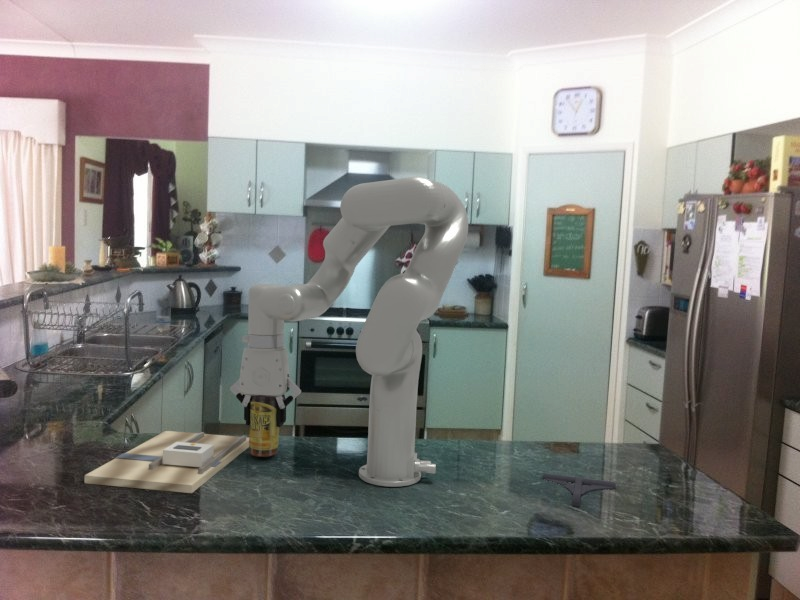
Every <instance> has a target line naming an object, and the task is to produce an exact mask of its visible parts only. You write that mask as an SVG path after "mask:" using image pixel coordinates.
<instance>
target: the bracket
mask: <svg viewBox="0 0 800 600" xmlns="http://www.w3.org/2000/svg"><path fill="white" fill-rule="evenodd" d="M544 479H545V480H544ZM542 480H544V481H546V480H547V481H546V482H549V481H552V482H551V483H553V482H555V483H557V484H556V485H558V484H560V485H562V486H564V487H563V488H565V487H566V488H567V489H566V488H565V489H566V490H568V491H569V492H570V493H571V494H572V504H571V505H572V507H576V508H580V505H581V496H583V495H585V494H586V493H589V492H593V491H594V490H595V491H603V490H604V491H608V489H609V490H610V491H611V490H616V486H617V485H616V482H614V481H607V480H606V481H605V480H600V479H591V478H582V477H576V476H575V477H574V476H569V475H567V476H566V475H560V474H551V473H542ZM567 482H571V483H567ZM555 483H554V484H555ZM573 483H575V484H573ZM560 485H559V486H560ZM587 485H589V486H587ZM562 486H561V487H562ZM605 489H606V490H605ZM595 491H594V492H595Z"/></svg>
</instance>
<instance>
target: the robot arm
mask: <svg viewBox="0 0 800 600" xmlns="http://www.w3.org/2000/svg"><path fill="white" fill-rule="evenodd" d="M339 207H340V208H339V209H340V214H341V216H342V217H341V218H340V219H339V221H338V222H337V223H336V225H335V226H334V227H333V228H332V229H331V230H330V231H329V233H328V234H327V235H325V237H324V239H323V243H322V246H323V249H324V251H325V254H324V255H325V256H324V260H323V261H322V263H321V265H320V267H318V268H319V269H317V271H316V272H315V273H314V274H313V276H312V277H311V279H309V280H308V281H307V282H306V283H304V284H303V283H302V284H293V285H291V284H290V285H284V286H281V285H279V284H268V283H265V284H264V283H263V284H262V283H259V284H258V283H257V284H254V285H251V286H250V287H249V290H248V307H247V308H248V309H247V310H248V311H247V312H248V316H247V317H248V318H247V319H248V323H247V324H248V325H247V326H248V327H247V328H248V330H247V333H246V335H242V336H241V342H242V343H246V346H247V347H244V348H243V351H242V356H241V364H240V371H239V378H238V379H237V381H235V382H234V383H233V384H232V385H231V386H230V387H229V390H230V392H231V393H232V394H233V395H234V396H236V399H237V400H238V401H239V402H240V403H241V406H242V407H243V420H244V421H245V425H246V426H250V406H251V400H252V397H253V396H258V395H262V396H270V397H276V400H277V402H278V405H279V408H278V409H277V424H276V426H277V427H279V428H281V427H282V426H283V425H284V424H285V423H286V422H287V421H286V420H287V406H288V405H289V404H291V403H292V402H293V401H294V400H295V399H296V398H297V397H298V396H299V395H300V394H301V393H302V389H300V387H299V386H298V385H297V384H296V383H295V382H294V381H293V380H292V378H291V370H290V361H289V360H290V359H289V356H288V349H287V348H286V347H285V344H284V343H285V341H284V340H285V339H284V337H285V322H300V321H305V320H311V319H317V318H318V317H320V316H322V315H323V314H324V313H325V312H327V310H329V308H330V307H331V306H332V305H333V304H334V303H335V302H336V301H337V300H338V298H339V297H340V296H341V294H343V292H344V291H345V289H346V288H347V286H348V284H349V283H350V280H351V279H352V276H353V275H354V272H355V271H356V270H355V269H356V268H357V266H358V265H359V263H360V262H361V261H362V260H363V259H364V257H365V256H366V255H367V254H368V253H369V251H370V250H371V249H372V248H373V247H374V246H375V244H376V243H377V242H378V241H379V240H380V239H381V238H382V236H383V235H384V234H385V233H386V232H387V230H388V229H389V228H390V227H391V226H399V225H410V224H418V225H419V224H420V225H424V226H425V230H424V234H423V235H422V237H421V239H420V240H419V242H418V244H417V246H415V249H414V251H413V255H412V257H411V259H410V262H409V263H408V265H407V267H406V269H405V270H404V272H403V273H399V274H396V275H393V276H392V277H390V278H389V279H387V280H386V281H385V283H384V284H383V285H382V286H381V287H380V289H379V291H378V292H377V295H376V297H375V299H374V301H373V303H372V305H371V306H370V307H371V308H370V311H369V312H368V314H367V317H366V319H365V322H364V324H363V325H362V328H361V331H360V332H359V335H358V338H357V340H356V346H355V355H356V360H357V362H358V364H359V366H360V367H361V369H362V371H364V372H366V373H367V374H369V375H371V379H370V380H371V381H370V390H369V404H368V405H369V409H368V410H369V411H368V431H367V433H368V435H367V456H366V458H367V459H366V464H364V465H362V466H360V468H359V469H358V476H359V478H360V479H361V480H362V481H364V482H366V483H368V484H370V485H373V486H378V487H387V488H388V487H389V488H390V487H391V488H393V487H395V488H398V487H399V488H400V487H407V486H411V485H414V484H417V483H418V482H419V481H420V480H421V478H422V473H426V474H436V472H437V464H436V463H432V461H431V460H420V458H418V453H417V452H415V447H416V426H417V425H416V424H417V423H416V422H417V406H418V405H417V404H418V388H419V378H420V371H421V364H422V358H423V342H422V337H421V335H420V333H419V332H418V330H417V329H418V326H419V324H420V323H421V322H422V321H425V320H427V319H429V318H431V317H432V316H433V315H434V314H435V313H436V312H437V309H438V307H439V305H440V302H441V300H442V297H443V296H444V293H445V291H446V289H447V287H448V284H449V282H450V280H451V278H452V275H453V273H454V271H455V268H456V266H457V263H458V261H459V259H460V256H461V255H462V252H463V250H464V247H465V244H466V242H467V237H468V234H469V217H468V213H467V210H466V208H465V206H464V204H463V202H462V200H461V199H460V198H459V196H458V195H457V193H455V191H454V190H452V189H451V188H450V187H448V186H447V185H446V184H443V183H442V182H439V181H436V180H434V179H431V178H428V177H425V176H408V177H402V178H394V179H387V180H379V181H373V182H364V183H359V184H356V185H353V186H352V187H350V188H349V189H348V190H347V191H346V192H345V193H344V194H343V197H342V198H341V202H340V206H339ZM290 390H291V393H290V394H288V396H286V393H288V392H289V391H290Z"/></svg>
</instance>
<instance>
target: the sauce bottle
mask: <svg viewBox="0 0 800 600" xmlns="http://www.w3.org/2000/svg"><path fill="white" fill-rule="evenodd" d="M278 408H279V405H278V402H277V400H276V397H270V396H262V395H258V396H253V397H252V400H251V406H250V425H249V432H248V433H249V434H248V436H249V437H248V438H249V447H248V449H249V454H250V455H251V456H254V457H262V458H269V457H272V456H274V455H276V454H277V452H278V448H279V440H280V439H279V436H280V435H279V434H280V427H277V426H276V424H277V409H278Z"/></svg>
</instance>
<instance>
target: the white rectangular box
mask: <svg viewBox="0 0 800 600" xmlns="http://www.w3.org/2000/svg"><path fill="white" fill-rule="evenodd" d="M213 457H214V445H211V444H199V443H187V442H175V443H174V444H172V445H170V446H169V447H167V448H165V449H164V450H163V464H169V465H180V466H191V467H201V466H203V465H204V464H205V463H207V462H208V461H209V460H211V459H212V458H213Z"/></svg>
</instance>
